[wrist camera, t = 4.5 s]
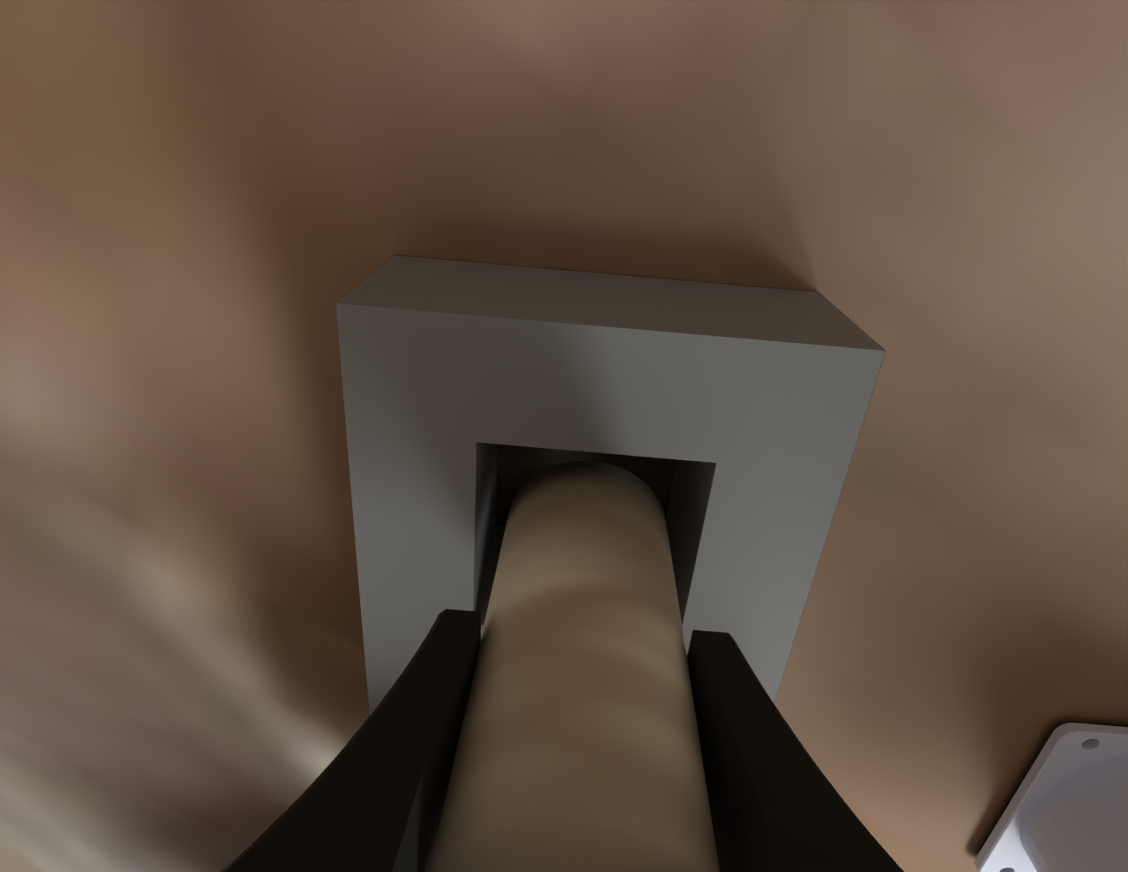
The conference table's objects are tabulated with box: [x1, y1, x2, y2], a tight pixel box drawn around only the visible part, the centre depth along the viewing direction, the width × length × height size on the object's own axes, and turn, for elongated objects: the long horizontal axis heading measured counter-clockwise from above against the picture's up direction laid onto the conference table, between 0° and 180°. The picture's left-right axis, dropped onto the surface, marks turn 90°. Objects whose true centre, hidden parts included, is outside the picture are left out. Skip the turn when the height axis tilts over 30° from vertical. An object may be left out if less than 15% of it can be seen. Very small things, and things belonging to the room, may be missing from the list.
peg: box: [429, 461, 720, 872], centre depth 12 cm, size 4×4×8 cm
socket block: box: [336, 255, 886, 715], centre depth 17 cm, size 10×14×4 cm
